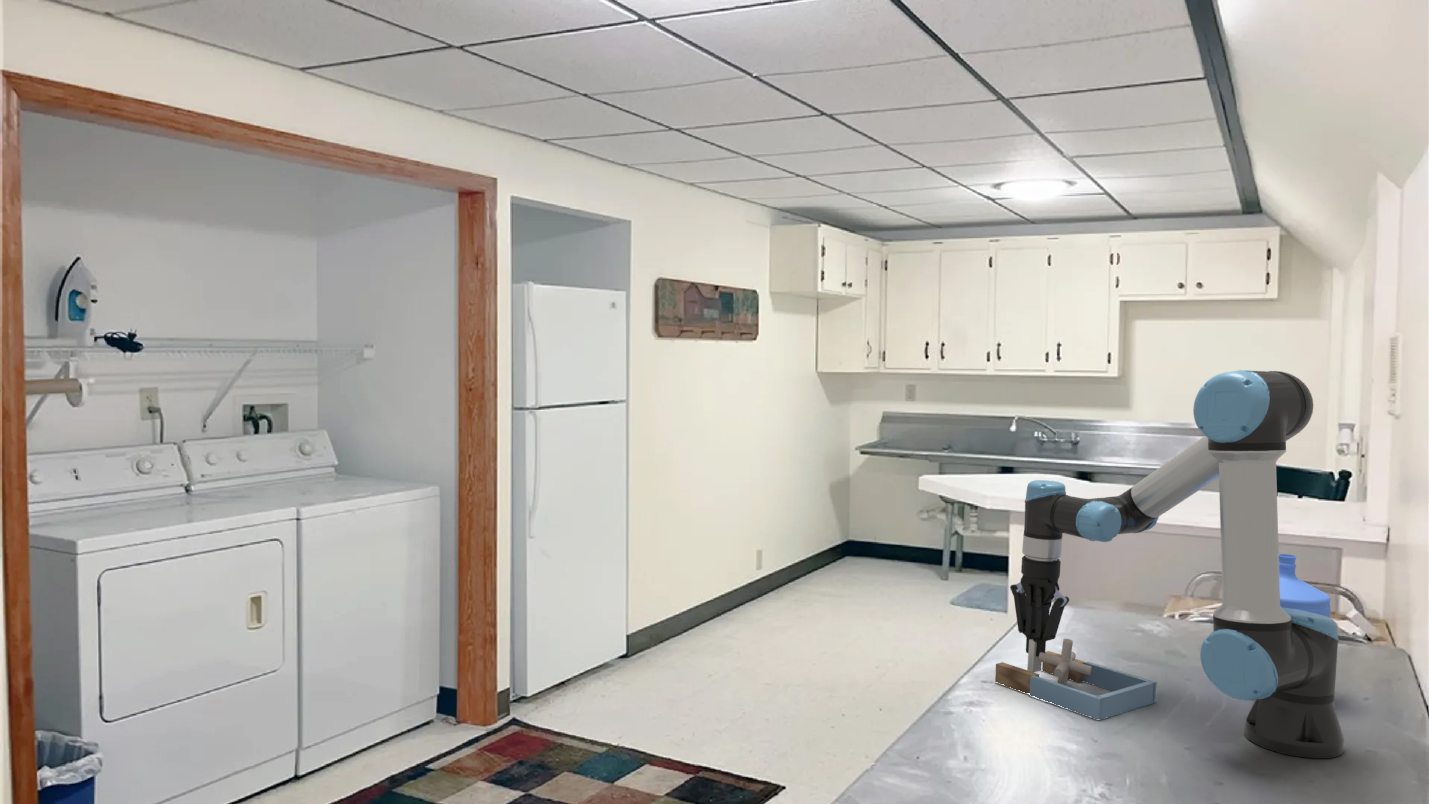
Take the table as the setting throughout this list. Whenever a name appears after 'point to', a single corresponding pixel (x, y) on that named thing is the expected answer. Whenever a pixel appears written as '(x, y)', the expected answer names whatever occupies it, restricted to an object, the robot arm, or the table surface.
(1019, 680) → the slot rails
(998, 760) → the table surface
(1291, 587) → the water jug
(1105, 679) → the bin
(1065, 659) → the pipe connector
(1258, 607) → the robot arm
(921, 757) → the table surface
